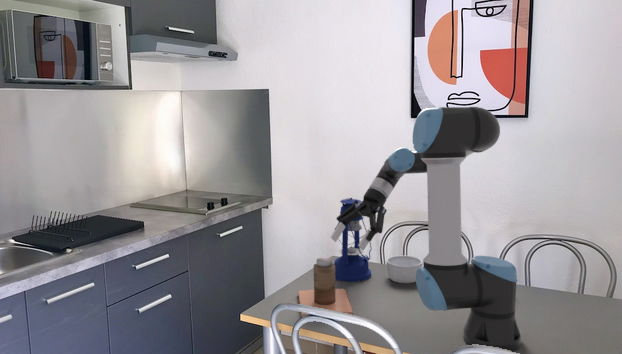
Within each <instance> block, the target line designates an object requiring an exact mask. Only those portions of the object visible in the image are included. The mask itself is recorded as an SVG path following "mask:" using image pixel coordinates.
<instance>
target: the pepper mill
mask: <svg viewBox="0 0 622 354" xmlns="http://www.w3.org/2000/svg"><path fill="white" fill-rule="evenodd" d="M335 289H336V279H335V265H334V262H333V259H332V258H331V257H326V256H325V257H323V256H321V257H318V258H316V263H315V264H313V290H314V302H315V303H317V304H320V305H330V304H333V303H335V301H336V297H335Z"/></svg>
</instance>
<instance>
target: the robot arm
mask: <svg viewBox="0 0 622 354" xmlns="http://www.w3.org/2000/svg"><path fill="white" fill-rule="evenodd" d="M500 135H501V126H500V122H499V120H498V119H497V117H496V116H495V115H494V114H493V113H492V112H491V111H490V110H488V109H486V108H483V107H479V106H467V107H465V106H464V107H461V106H460V107H459V106H454V107H453V106H451V107H449V106H448V107H447V106H446V107H445V106H444V107H441V106H439V107H429V108H425V109H423V110H421V111H420V112H419V113H418V115H417V117H416V118H415V121H414V124H413V130H412V144H413V148H414V150H413V151H412V150H411V149H409V148H407V147H399V148H397V149H395V150H394V152H392V153H391V154H390V155H389V156H388V158H386V160H385V161H384V162H383V163H384V164H383V165H381V168H380V170H379V172H378V173H377V175H376V176H375V178H374V179H373V180H372V182H371V184H370V185H369V187H368V189H367V190H366V192H365V193H364V195H363V199H362V200H361V201H362V202H361V203H360V202H358V201H357V200H358V199H357V200H355V201H354V203H353V204H352V205H351V206H350V207H349V208H347V209H346V210H345V211H344V212H343V213H342V214H340V213H339V215H338V216H337V217H336V221H337V225H336V226H335V228H334V231H333V232H332V234H331V235H330V238H331V240H332V241H334V242H335V243H337V241H339V239H340V237H341V234H343V233H342V232H343V230H344V229H345V225H346V224H348V223H349V222H351V221H352V220H354V219H356V218H357V217H361V216H362V217H367V218H368V221H369V229H366V230H367V232H366V231H365V233H364V235H362V236H363V237H362V238H361V240H360V243H359V245H358V246H359V247H360V249H361V250H363V251H365V249H366V248H367V246H368V244H370V242H371V241H372V239H374V237H375V235H376V234H382V233H383V229H384V222H385V221H384V220H385V215H386V213H387V211H388V210H387V209H386V208H385V206H384V205H385V203H387V200H388V198H389V197H390V195H391V193H393V190H394V189H395V187H396V186H397V184H398V182H399V181H400V179H401V178H402V177H403V176H404V175H407V174H408V175H409V174H410V175H411V174H423V173H424V174H426V176H427V177H426V184H427V185H426V186H427V223H428V230H427V231H428V253H427V255H426V256H425V257H424V258H423V259H422V267H420V268H418V269H417V271H416V272H417V273H416V282H415V283H416V288H417V292H418V294H419V299H421V302H422V303H423V305H424V306H425V308H426V309H428V310H430V311H435V312H436V311H443V312H446V311H450V310H462V309H464V310H465V309H470V312H469V314H468V317H467V319H466V323H464V324H465V325H464V326H463V332H462V333H463V335H462V336H463V337H462V338H463V339H464V341H465V342H466V344H468V345H469V346H471V345H472V344H479V345H486V346H493V347H499V348H502V349H507V350H512V351H511V352H514V351H516V350H518V349H519V348H520V347H521V344H522V343H521V342H522V336H521V332H520V329H519V324H518V322H517V319H516V301H517V300H516V298H517V283H518V278H517V277H518V276H517V274H518V273H517V268H516V266H515V265H514V264H513V263H511V262H510V261H508V260H505V259H503V258H499V257H495V256H490V255H475V256H473V257H472V259H471V260H470V261H471V263H472V264H470V263H469V261H468V258H466V256H464V254H463V253H462V247H463V246H462V244H463V243H462V201H461V196H462V195H461V192H462V191H461V164H462V163H463V162H464V161H465V160H466V158H467V157H468V156H470V155H472V154H474V153H478V154H479V153H483V152H485V151H487V150H489V149H490V148H492V147H493V146H494V145H495V144H496V143H497V142H498V140H499V138H500ZM344 221H345V222H344ZM338 238H339V239H338ZM369 241H370V242H369Z"/></svg>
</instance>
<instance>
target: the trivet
mask: <svg viewBox="0 0 622 354" xmlns="http://www.w3.org/2000/svg"><path fill="white" fill-rule="evenodd" d="M335 297H336V301H335V303H333V304H330V305H320V304H317V303H315V302H314V289H306V290H298V300H299V305H300V304H303V305H307V306H312V307H318V308H324V309H329V310H334V311H339V312H343V313H348V314H353V315H354V311H353V308H352V306H351V303H350V300H349V297H348V295H347V292H346V289H345V288H335ZM305 315H307V314H306V313H301V312H300V317H302V316H305Z"/></svg>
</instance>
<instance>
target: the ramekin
mask: <svg viewBox="0 0 622 354" xmlns="http://www.w3.org/2000/svg"><path fill="white" fill-rule="evenodd" d="M385 264H386V268H387V275H388V277H389V279H390V280H391V281H393V282H396V283H399V284H412V283H416V273H417V272H416V271H417V269H418V268H420V267H423V259H421V258H419V257H415V256H413V255H403V254H402V255H393V256H389V257H388V258H387V259H386V261H385Z"/></svg>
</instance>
